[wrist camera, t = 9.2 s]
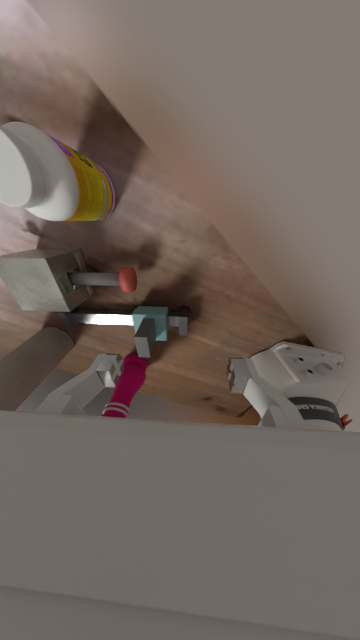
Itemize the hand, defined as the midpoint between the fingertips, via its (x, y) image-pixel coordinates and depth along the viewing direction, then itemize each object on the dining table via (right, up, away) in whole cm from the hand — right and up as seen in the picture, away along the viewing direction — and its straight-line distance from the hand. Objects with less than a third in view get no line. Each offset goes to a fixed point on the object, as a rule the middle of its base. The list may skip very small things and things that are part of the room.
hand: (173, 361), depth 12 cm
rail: (-10, +4, +21) cm, 24 cm away
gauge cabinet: (-20, +12, +17) cm, 29 cm away
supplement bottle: (-12, +21, +10) cm, 26 cm away
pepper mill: (-11, -8, +30) cm, 33 cm away
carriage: (-5, +4, +21) cm, 22 cm away
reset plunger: (-13, +11, +15) cm, 23 cm away
